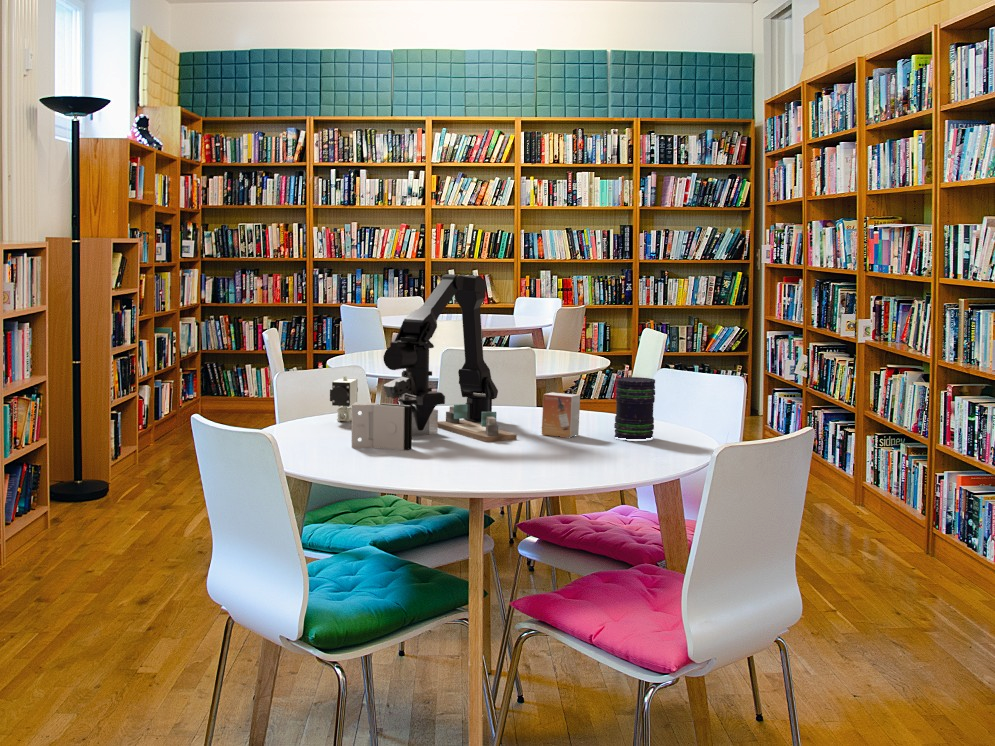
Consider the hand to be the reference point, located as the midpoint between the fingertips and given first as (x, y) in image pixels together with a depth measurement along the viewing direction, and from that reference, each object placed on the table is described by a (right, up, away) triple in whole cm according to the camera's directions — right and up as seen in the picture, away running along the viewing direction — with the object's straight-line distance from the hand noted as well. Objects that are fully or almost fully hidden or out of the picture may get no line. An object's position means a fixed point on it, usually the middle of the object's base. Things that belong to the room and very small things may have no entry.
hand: (416, 429), depth 268 cm
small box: (+36, -2, +3) cm, 36 cm away
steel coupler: (0, -1, 0) cm, 1 cm away
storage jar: (+54, -3, 0) cm, 54 cm away
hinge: (-7, -4, -20) cm, 21 cm away
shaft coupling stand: (+14, -1, +4) cm, 15 cm away
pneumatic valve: (-21, +1, +19) cm, 28 cm away
